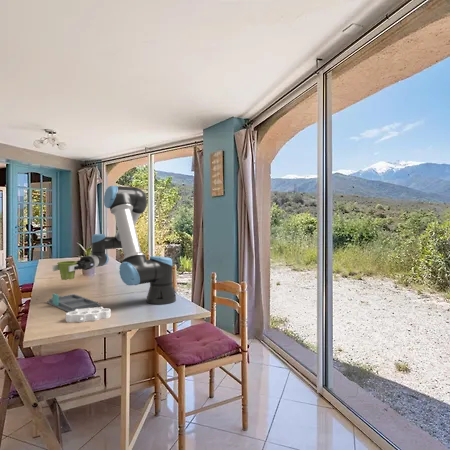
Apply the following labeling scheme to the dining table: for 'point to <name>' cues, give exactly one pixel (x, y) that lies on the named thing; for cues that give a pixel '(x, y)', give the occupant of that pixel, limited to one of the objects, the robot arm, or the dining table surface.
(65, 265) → the plant pot
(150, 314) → the dining table surface
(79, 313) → the knuckle duster
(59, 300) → the tray
